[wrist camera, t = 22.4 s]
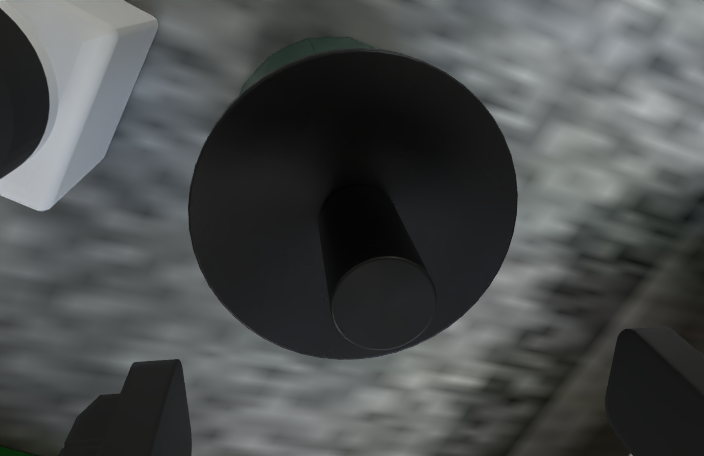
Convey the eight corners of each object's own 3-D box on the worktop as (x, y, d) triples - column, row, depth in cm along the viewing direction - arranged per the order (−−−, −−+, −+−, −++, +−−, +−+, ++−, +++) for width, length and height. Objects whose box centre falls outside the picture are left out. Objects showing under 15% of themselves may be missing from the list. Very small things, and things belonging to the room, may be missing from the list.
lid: (210, 349, 20) (181, 494, 14) (174, 48, 16) (113, 79, 10) (490, 331, 21) (568, 459, 15) (520, 42, 17) (639, 69, 11)
